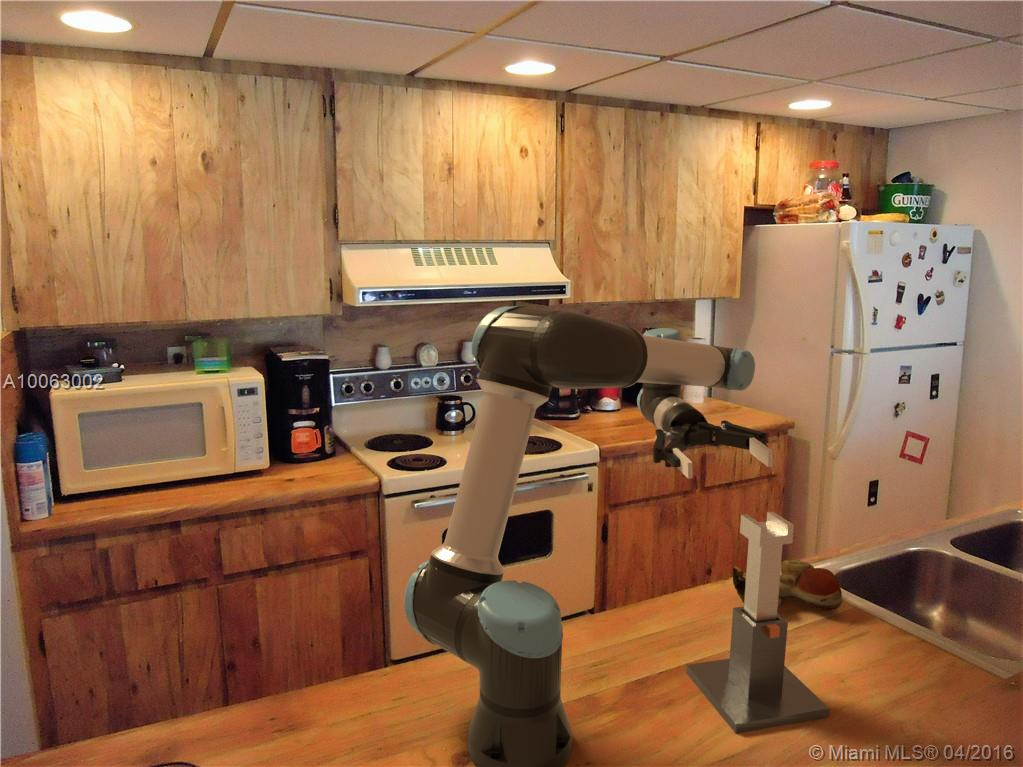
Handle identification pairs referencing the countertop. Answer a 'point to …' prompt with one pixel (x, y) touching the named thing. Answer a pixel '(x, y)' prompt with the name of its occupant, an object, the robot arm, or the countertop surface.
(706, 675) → the stand
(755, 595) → the column
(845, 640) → the countertop surface
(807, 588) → the beige sneaker
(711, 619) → the countertop surface
